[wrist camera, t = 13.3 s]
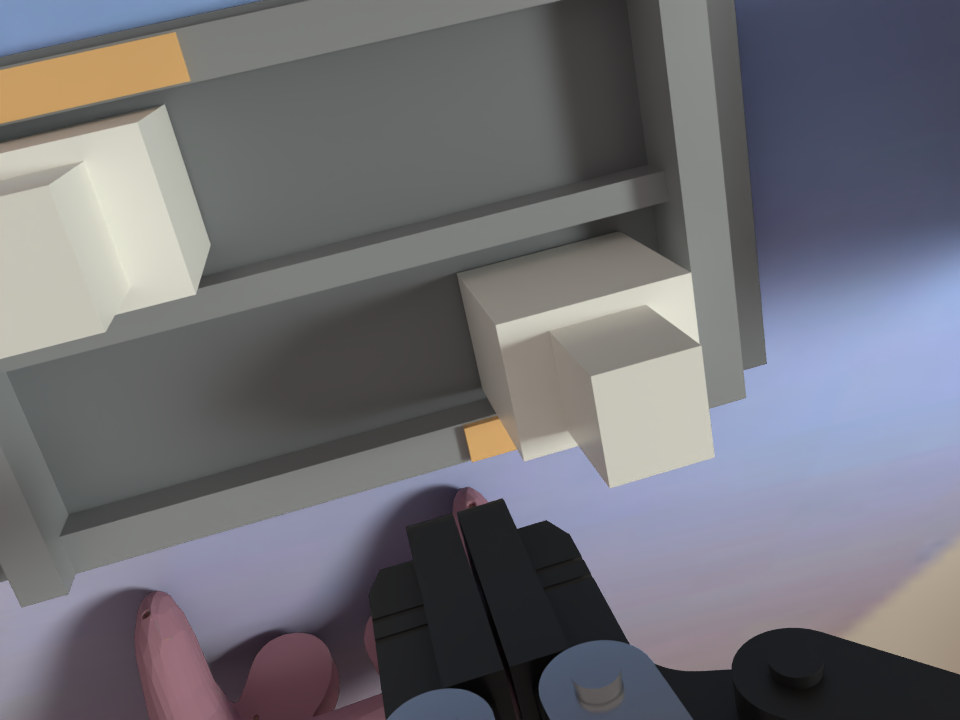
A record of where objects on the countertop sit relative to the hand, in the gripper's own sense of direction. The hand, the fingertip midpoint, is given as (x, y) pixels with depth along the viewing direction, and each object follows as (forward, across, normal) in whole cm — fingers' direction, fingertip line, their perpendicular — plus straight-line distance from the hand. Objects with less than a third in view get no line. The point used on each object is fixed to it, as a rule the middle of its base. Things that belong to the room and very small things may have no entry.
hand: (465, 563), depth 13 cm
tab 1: (+8, +5, -5) cm, 11 cm away
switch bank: (+10, +1, -3) cm, 10 cm away
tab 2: (+9, -4, 0) cm, 9 cm away
